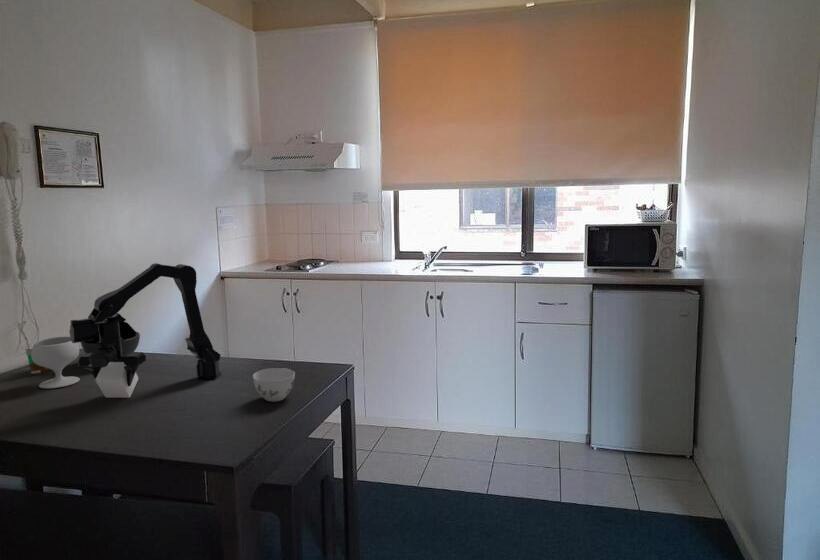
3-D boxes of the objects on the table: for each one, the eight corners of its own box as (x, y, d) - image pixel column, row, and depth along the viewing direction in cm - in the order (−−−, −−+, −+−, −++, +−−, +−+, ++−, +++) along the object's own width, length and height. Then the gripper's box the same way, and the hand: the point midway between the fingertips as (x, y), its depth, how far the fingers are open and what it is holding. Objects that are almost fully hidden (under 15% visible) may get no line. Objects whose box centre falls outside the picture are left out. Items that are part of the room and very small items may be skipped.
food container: (46, 376, 211) (42, 349, 209) (28, 376, 211) (25, 349, 209) (66, 366, 223) (63, 340, 221) (50, 366, 223) (47, 340, 221)
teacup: (279, 408, 173) (277, 382, 172) (245, 403, 178) (243, 377, 177) (308, 391, 186) (307, 367, 185) (276, 387, 192) (275, 363, 190)
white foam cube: (138, 378, 192) (129, 360, 186) (129, 397, 186) (120, 380, 180) (115, 377, 192) (105, 360, 186) (105, 397, 186) (95, 380, 180)
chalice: (86, 375, 211) (81, 334, 208) (78, 387, 198) (73, 343, 195) (41, 380, 206) (36, 338, 204) (30, 393, 193) (24, 348, 191)
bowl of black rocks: (91, 358, 232) (86, 311, 229) (146, 353, 237) (141, 307, 234) (76, 373, 213) (70, 322, 210) (136, 367, 218) (131, 317, 215)
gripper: (63, 344, 175) (70, 395, 177) (124, 343, 173) (130, 394, 176) (86, 335, 186) (92, 382, 188) (144, 334, 184) (149, 382, 187)
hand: (115, 386), depth 184 cm, fingers open, 9 cm apart
